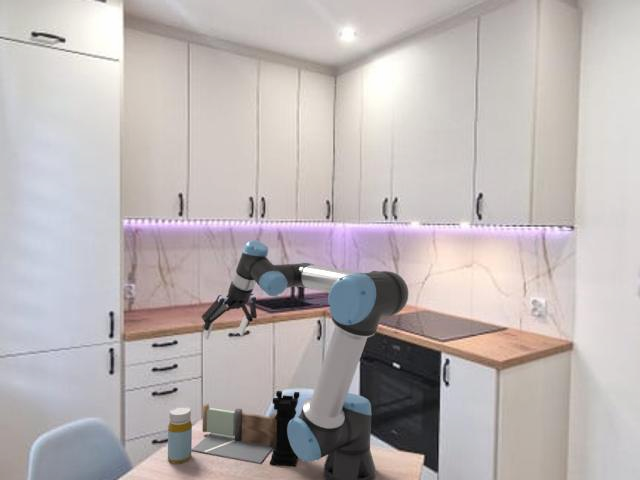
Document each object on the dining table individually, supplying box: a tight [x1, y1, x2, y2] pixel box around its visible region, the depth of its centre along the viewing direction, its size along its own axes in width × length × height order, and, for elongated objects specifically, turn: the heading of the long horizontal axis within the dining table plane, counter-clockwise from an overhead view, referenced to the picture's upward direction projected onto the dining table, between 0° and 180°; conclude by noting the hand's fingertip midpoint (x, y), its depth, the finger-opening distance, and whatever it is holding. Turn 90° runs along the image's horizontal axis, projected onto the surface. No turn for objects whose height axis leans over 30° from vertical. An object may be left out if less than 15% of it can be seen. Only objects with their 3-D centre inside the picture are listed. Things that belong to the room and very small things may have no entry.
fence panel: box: [201, 403, 235, 436], centre depth 152 cm, size 12×2×9 cm, turn 74°
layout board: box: [191, 432, 274, 465], centre depth 147 cm, size 24×16×1 cm, turn 74°
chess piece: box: [269, 390, 300, 468], centre depth 138 cm, size 8×8×20 cm
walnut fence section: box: [234, 408, 277, 447], centre depth 148 cm, size 15×2×10 cm, turn 74°
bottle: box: [167, 406, 193, 465], centre depth 137 cm, size 7×7×15 cm
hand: (223, 334), depth 154 cm, fingers open, 13 cm apart
